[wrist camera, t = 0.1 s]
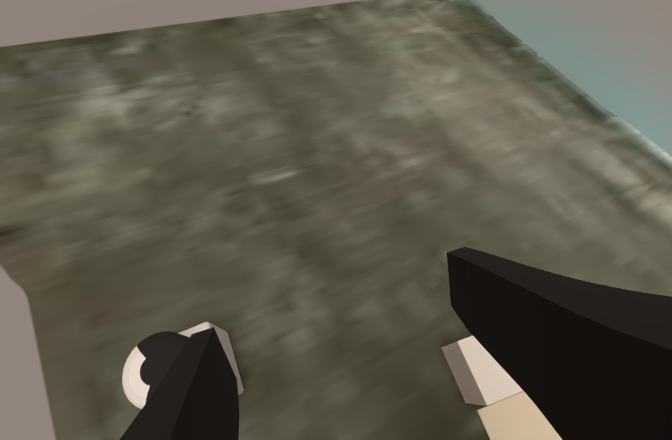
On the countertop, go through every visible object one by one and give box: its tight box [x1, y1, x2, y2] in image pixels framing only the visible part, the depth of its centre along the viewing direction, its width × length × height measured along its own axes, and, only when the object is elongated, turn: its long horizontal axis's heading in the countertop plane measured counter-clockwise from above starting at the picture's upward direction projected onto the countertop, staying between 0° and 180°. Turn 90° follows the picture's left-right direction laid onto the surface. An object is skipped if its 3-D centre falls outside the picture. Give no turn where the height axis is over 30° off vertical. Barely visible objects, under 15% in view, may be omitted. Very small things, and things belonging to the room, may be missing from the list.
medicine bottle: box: [122, 322, 244, 409], centre depth 34 cm, size 7×7×12 cm
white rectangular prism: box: [441, 336, 523, 406], centre depth 37 cm, size 10×6×6 cm, turn 109°
